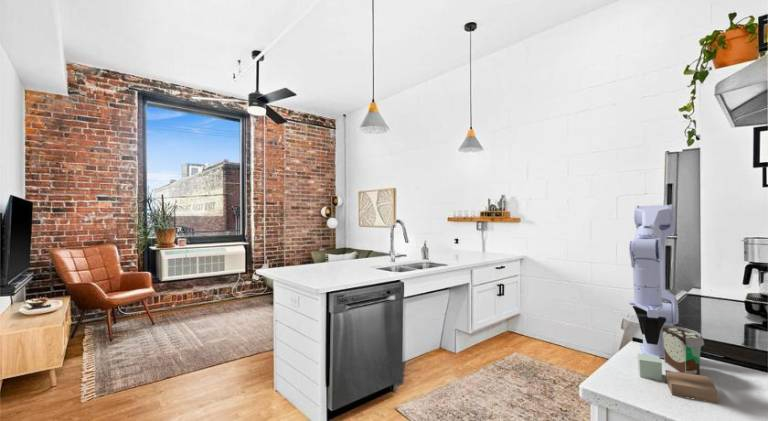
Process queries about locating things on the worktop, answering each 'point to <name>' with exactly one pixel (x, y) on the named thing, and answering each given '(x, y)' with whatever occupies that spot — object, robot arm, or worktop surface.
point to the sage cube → (650, 367)
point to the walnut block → (691, 386)
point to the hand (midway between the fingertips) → (649, 338)
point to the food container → (682, 348)
